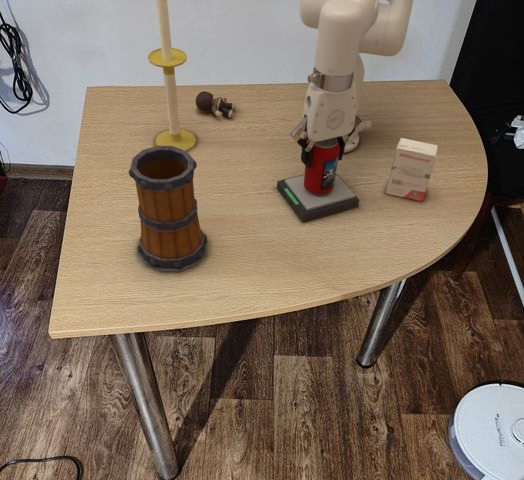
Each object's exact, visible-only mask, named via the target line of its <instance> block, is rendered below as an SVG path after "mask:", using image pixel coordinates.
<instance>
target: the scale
mask: <svg viewBox="0 0 524 480" xmlns="http://www.w3.org/2000/svg"><path fill="white" fill-rule="evenodd" d="M304 175H305V173H303V174H300V175H295V176H292V177H288V178H284V179H280V180H277V181H276V190H277V191H278V192H279V193H280V195H281V196H282V198H283V199H284V200H285V201H286V203H287V205H289V207H290V208H291V209H292V210H293V212H294V213H295V214H296V216H297V217H298V219H299V220H300V222H302V223H306V222H310V221H313V220H318V219H320V218H324V217H328V216H331V215H334V214H335V215H336V214H338V213H342V212H345V211H348V210H353V209H356V208H359V203H360V199H359V197H358V196H357V195H356V194H355V193H354V192H353V191H352V190H351V189H350V187H349V186H348V185H347V184H346V183H345V181H343V179H342V178H341V177H340V176H339V175H338V174H337V173H336V177H335V182H334V188H333V190H332V191H331V192H329V193H327V194H323V195H316V194H313V193H311V192H309V191H307V190H306V189H305V187H304Z"/></svg>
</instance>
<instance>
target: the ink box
mask: <svg viewBox="0 0 524 480" xmlns="http://www.w3.org/2000/svg"><path fill="white" fill-rule="evenodd" d="M438 152H439V145H438V144H433V143H427V142H423V141H418V140H415V139H414V140H413V139H408V138H404V137H400V139H399V141H398V143H397V146H396V149H395V152H394V156H393V162H392V165H391V169H390V173H389V176H388V181H387V185H386V190H385V194H388V195H391V196H396V197H401V198H405V199H409V200H413V201H416V202H417V201H418V202H423V200H424V198H425V195H426V193H427V192H426V191H427V189H428V185H429V181H430V179H431V175H432V172H433V169H434V165H435V162H436V159H437V157H438Z"/></svg>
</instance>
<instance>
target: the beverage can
mask: <svg viewBox="0 0 524 480" xmlns="http://www.w3.org/2000/svg"><path fill="white" fill-rule="evenodd" d="M311 150H312V151H313V157H312V166H311V168H307V167H306V166H305V165H304V166H305V167H304V174H305V175H304V187H305V189H306V190H307V191H309V192H311V193H313V194H316V195H323V194H327V193H329V192H331V191H332V190H333V188H334V182H335V177H336V174H337V170H338V163H339V160H338V158H339V152H340V145H339V143H338V139H337V137H335V138H331V139H327V140H322V141H317V142H315V143H314V145H313V147H312V148H311Z"/></svg>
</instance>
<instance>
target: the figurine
mask: <svg viewBox="0 0 524 480" xmlns="http://www.w3.org/2000/svg"><path fill="white" fill-rule="evenodd" d="M195 106H196V108H197V110H199V111H200V112H202V113H209V114H210V112H212V113H213V114H214V115H215V116H216V117H218V118H221V117H223V116H224V117H226V118H228V119H232V117H233V112H234V111H235V107H236V102H235V103H234V102H228V98H227V97H225V96H219V97H216V98H214V94H213V93H211V92H209V91H207V90H202V91H200V92H199V93H197V95H196V96H195Z"/></svg>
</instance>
